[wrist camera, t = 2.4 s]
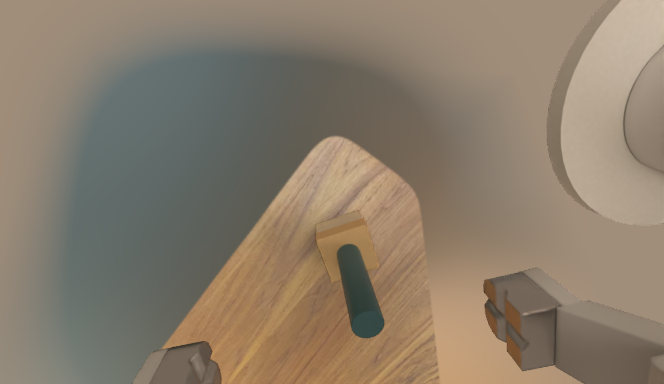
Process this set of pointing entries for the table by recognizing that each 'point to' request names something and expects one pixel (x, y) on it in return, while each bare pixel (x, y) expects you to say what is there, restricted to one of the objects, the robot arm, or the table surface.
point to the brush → (352, 269)
